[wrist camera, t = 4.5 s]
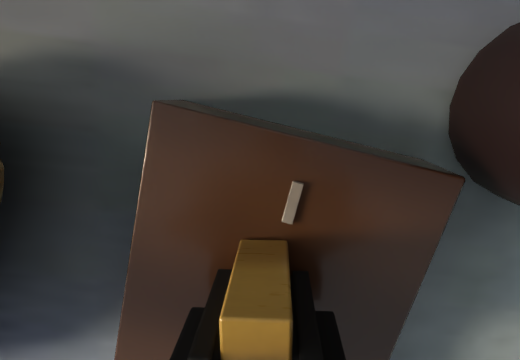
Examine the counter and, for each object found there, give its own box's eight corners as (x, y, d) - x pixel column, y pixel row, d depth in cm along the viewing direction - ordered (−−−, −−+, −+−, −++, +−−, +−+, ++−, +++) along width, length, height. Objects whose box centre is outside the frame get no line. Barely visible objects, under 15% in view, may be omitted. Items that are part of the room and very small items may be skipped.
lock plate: (180, 99, 13) (149, 99, 10) (424, 159, 13) (470, 179, 10) (139, 343, 16) (105, 402, 13) (335, 391, 16) (349, 461, 13)
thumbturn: (239, 238, 11) (215, 326, 7) (287, 239, 11) (293, 329, 6) (242, 361, 12) (223, 500, 8) (285, 363, 12) (288, 504, 8)
